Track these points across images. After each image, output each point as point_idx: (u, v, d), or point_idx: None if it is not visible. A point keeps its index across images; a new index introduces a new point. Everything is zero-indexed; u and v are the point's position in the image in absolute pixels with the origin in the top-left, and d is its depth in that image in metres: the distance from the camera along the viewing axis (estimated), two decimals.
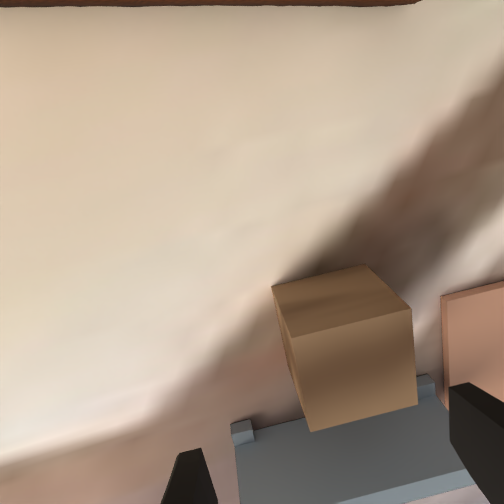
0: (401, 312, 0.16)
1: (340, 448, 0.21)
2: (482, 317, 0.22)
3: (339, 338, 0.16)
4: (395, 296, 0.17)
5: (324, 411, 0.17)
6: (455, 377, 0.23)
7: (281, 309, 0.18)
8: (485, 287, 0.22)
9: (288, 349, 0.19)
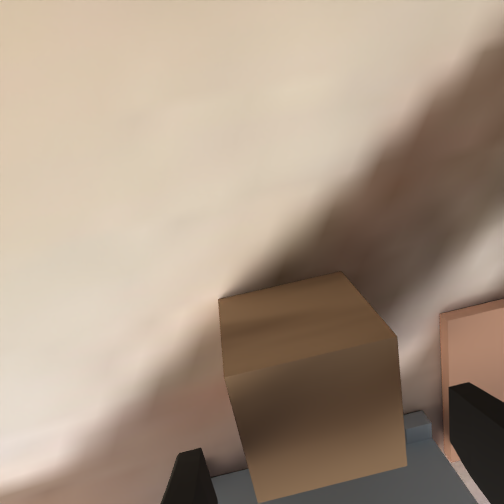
0: (382, 342, 0.11)
1: None
2: (492, 341, 0.17)
3: (294, 378, 0.11)
4: (376, 317, 0.12)
5: (276, 475, 0.12)
6: None
7: (222, 332, 0.13)
8: (497, 303, 0.17)
9: None
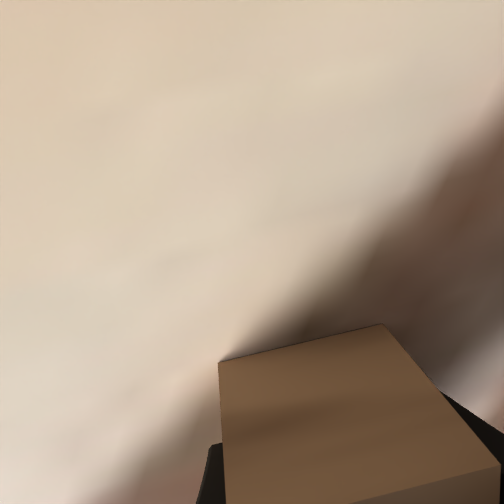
0: (478, 473, 0.07)
1: None
2: None
3: None
4: (456, 419, 0.08)
5: None
6: None
7: (224, 429, 0.09)
8: None
9: None
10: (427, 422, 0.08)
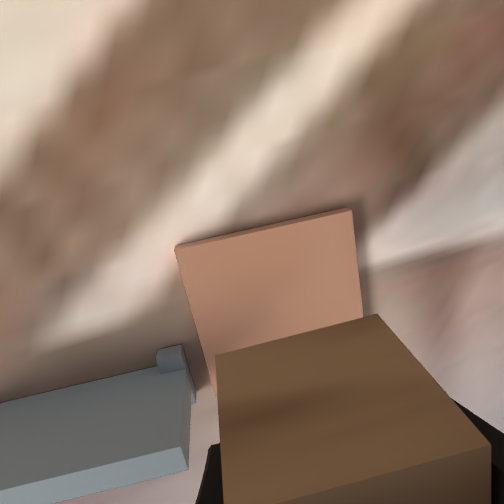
0: (469, 453, 0.07)
1: (38, 429, 0.17)
2: (226, 272, 0.18)
3: None
4: (448, 402, 0.08)
5: None
6: (209, 347, 0.19)
7: (221, 418, 0.09)
8: (228, 235, 0.18)
9: None
10: (420, 406, 0.08)
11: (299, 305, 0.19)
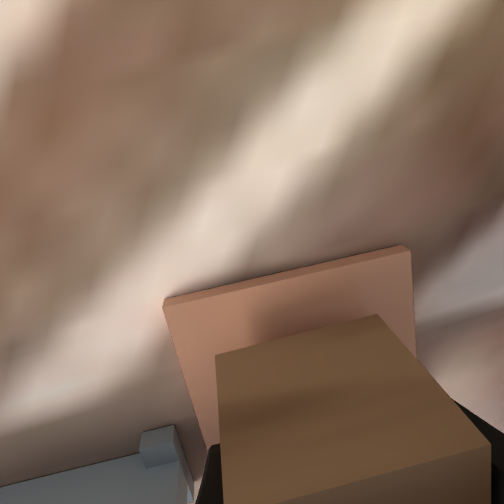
0: (469, 453, 0.07)
1: None
2: (236, 335, 0.13)
3: None
4: (448, 402, 0.08)
5: None
6: (212, 432, 0.14)
7: (221, 418, 0.09)
8: (238, 284, 0.13)
9: None
10: (420, 406, 0.08)
11: None
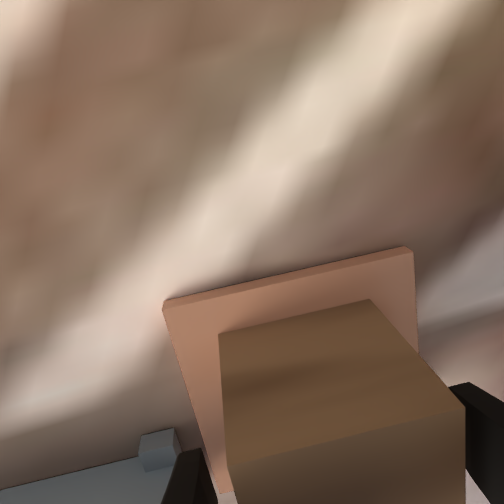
0: (445, 415, 0.08)
1: None
2: None
3: (323, 464, 0.08)
4: (429, 373, 0.09)
5: None
6: (212, 435, 0.14)
7: (223, 387, 0.10)
8: (239, 286, 0.13)
9: None
10: (404, 376, 0.09)
11: None
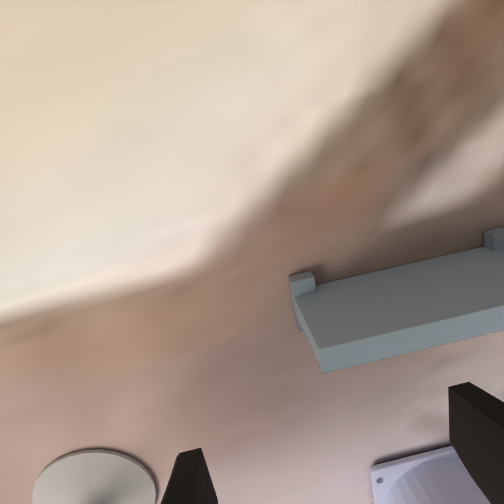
0: None
1: (417, 288, 0.19)
2: None
3: None
4: None
5: None
6: None
7: None
8: None
9: None
10: None
11: None
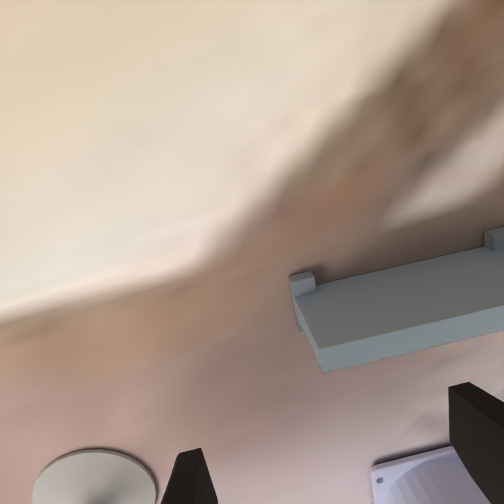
0: None
1: (417, 288, 0.19)
2: None
3: None
4: None
5: None
6: None
7: None
8: None
9: None
10: None
11: None
